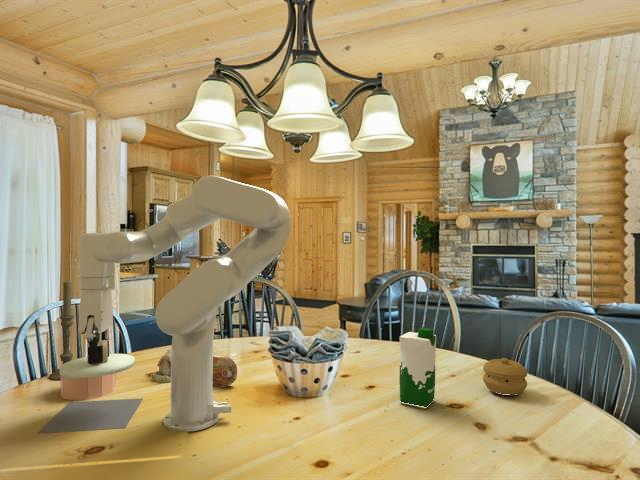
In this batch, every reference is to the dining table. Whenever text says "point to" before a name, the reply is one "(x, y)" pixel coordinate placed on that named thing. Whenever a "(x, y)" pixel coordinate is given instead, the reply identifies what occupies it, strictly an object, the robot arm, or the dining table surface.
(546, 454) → the dining table surface
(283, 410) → the dining table surface
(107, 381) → the bowl
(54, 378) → the candlestick holder
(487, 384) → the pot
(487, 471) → the dining table surface
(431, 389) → the milk carton
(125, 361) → the lid
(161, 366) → the ceramic model
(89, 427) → the mat
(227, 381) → the tin
